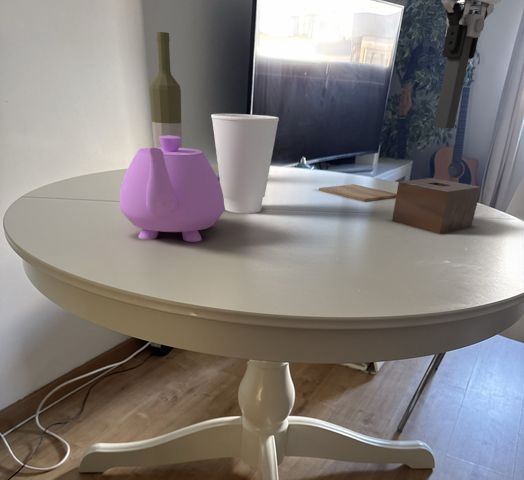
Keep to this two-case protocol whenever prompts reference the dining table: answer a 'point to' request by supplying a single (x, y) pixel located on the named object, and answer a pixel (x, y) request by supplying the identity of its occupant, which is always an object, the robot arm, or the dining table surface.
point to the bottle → (165, 96)
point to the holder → (435, 204)
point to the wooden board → (358, 192)
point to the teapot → (171, 191)
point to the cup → (244, 158)
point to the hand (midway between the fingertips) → (458, 56)
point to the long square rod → (456, 76)
